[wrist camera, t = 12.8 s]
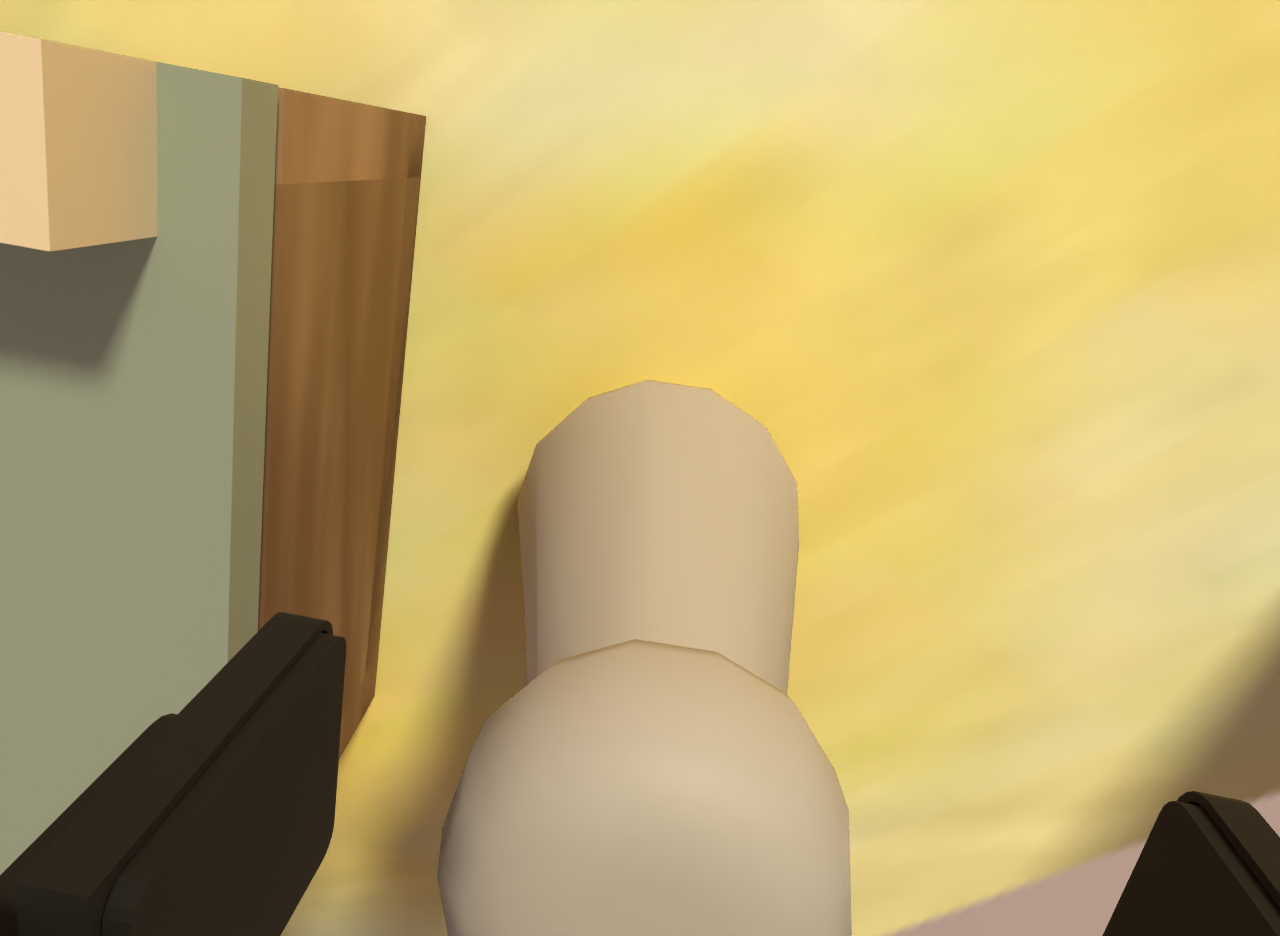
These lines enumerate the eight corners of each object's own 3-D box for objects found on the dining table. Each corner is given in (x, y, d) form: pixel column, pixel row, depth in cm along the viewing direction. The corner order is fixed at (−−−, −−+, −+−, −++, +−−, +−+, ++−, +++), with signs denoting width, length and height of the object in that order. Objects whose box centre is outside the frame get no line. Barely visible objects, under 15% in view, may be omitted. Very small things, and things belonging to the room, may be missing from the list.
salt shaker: (652, 637, 22) (624, 1245, 10) (484, 475, 21) (203, 936, 8) (837, 486, 20) (1087, 975, 8) (669, 303, 19) (660, 551, 7)
